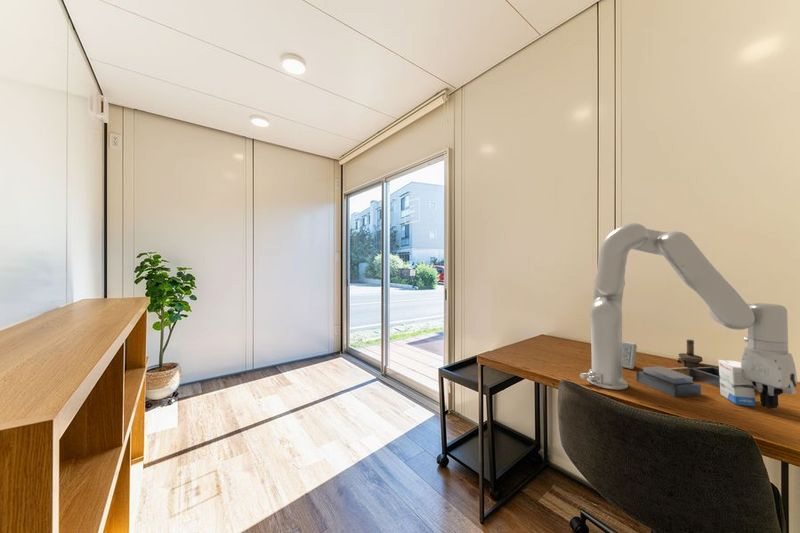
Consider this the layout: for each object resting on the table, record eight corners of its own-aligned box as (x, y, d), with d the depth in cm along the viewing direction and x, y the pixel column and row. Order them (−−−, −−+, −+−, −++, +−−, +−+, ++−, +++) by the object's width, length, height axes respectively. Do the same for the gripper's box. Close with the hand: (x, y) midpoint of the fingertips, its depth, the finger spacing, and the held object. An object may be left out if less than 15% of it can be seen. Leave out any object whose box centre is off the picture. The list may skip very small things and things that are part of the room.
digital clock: (589, 360, 138) (589, 337, 138) (602, 357, 142) (602, 335, 142) (627, 371, 123) (627, 346, 123) (641, 368, 127) (641, 343, 127)
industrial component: (679, 369, 125) (678, 340, 125) (676, 364, 131) (676, 337, 130) (711, 373, 119) (710, 343, 119) (706, 368, 125) (706, 339, 125)
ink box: (756, 407, 92) (754, 368, 92) (734, 404, 94) (732, 367, 94) (739, 395, 99) (737, 360, 99) (719, 393, 101) (717, 359, 102)
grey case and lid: (674, 397, 100) (674, 380, 99) (636, 380, 113) (636, 366, 113) (758, 390, 104) (758, 374, 103) (711, 375, 117) (711, 361, 117)
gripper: (726, 340, 96) (727, 397, 96) (792, 353, 81) (794, 421, 81) (746, 338, 97) (748, 395, 97) (815, 351, 82) (817, 418, 82)
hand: (769, 406), depth 89 cm, fingers closed
